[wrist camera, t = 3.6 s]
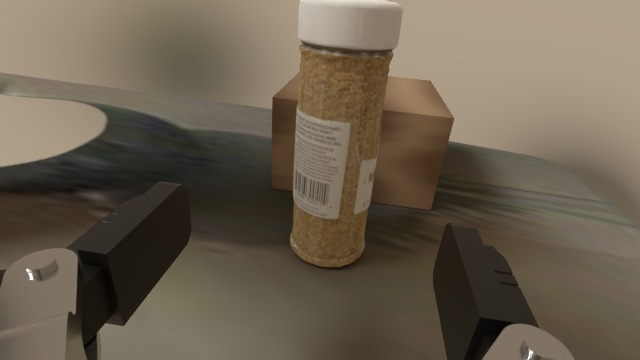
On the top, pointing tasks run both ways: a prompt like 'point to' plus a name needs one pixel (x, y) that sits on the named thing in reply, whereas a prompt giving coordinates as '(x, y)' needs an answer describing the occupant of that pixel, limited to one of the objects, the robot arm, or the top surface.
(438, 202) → the top surface
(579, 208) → the top surface
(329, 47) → the sprinkles bottle
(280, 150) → the block
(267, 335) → the top surface
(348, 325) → the top surface
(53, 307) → the robot arm
